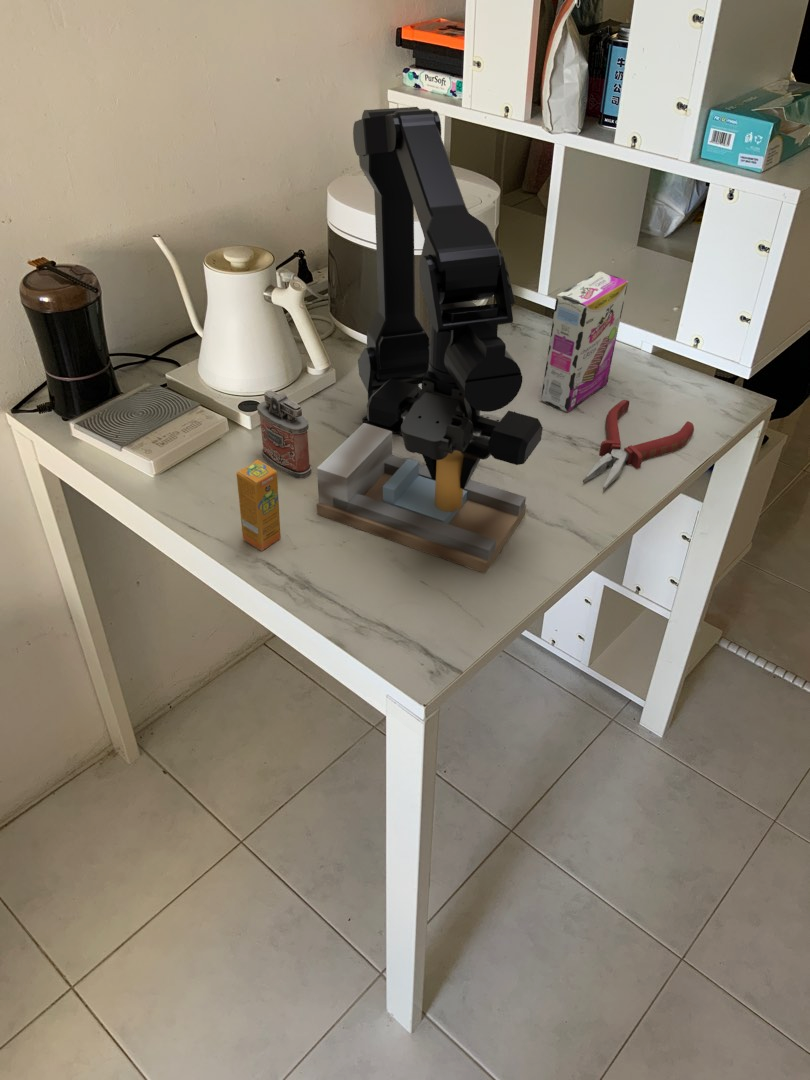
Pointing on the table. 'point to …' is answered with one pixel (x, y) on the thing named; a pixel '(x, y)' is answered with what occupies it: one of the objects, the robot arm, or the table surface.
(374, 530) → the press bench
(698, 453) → the table surface
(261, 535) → the supplement box
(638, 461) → the pliers
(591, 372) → the candy bar box
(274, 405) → the lighter
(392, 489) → the press jaw
